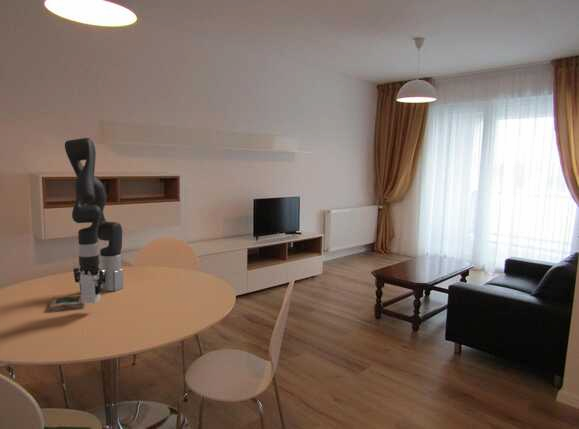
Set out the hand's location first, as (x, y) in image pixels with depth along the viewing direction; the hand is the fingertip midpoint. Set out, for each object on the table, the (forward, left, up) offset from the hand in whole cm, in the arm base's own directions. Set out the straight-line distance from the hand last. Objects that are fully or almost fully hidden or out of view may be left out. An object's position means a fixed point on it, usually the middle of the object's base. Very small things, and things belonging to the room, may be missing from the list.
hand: (90, 293), depth 168 cm
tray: (+15, -3, -8) cm, 17 cm away
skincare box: (0, 0, -4) cm, 4 cm away
